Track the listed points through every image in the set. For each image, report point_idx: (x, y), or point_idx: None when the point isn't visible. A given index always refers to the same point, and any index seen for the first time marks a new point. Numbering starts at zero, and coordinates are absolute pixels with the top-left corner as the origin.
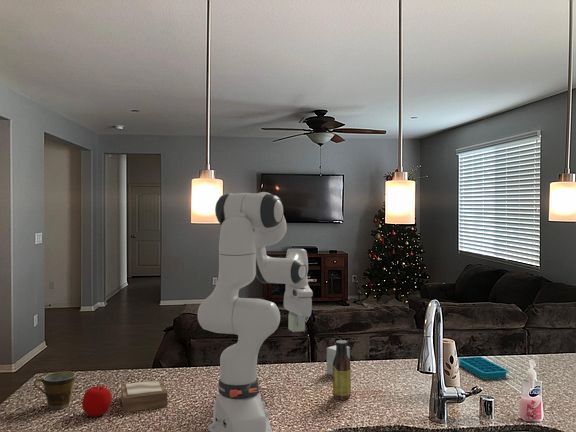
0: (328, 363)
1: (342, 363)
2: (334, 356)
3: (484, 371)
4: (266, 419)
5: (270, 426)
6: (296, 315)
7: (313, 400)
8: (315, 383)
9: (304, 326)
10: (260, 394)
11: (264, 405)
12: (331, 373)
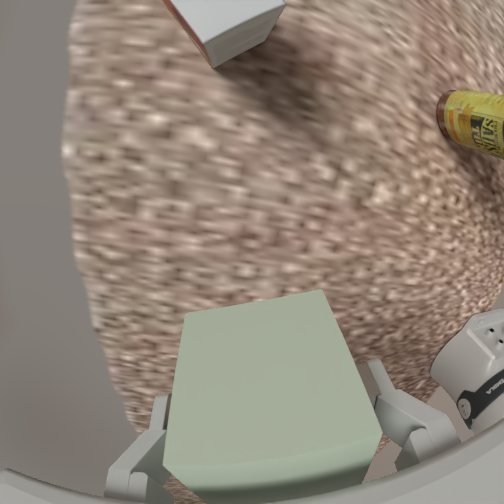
0: (221, 55)
1: None
2: (265, 24)
3: None
4: (480, 318)
5: (499, 312)
6: (329, 485)
7: (448, 203)
8: (326, 148)
9: (334, 324)
10: (495, 356)
11: (501, 340)
12: (238, 54)
